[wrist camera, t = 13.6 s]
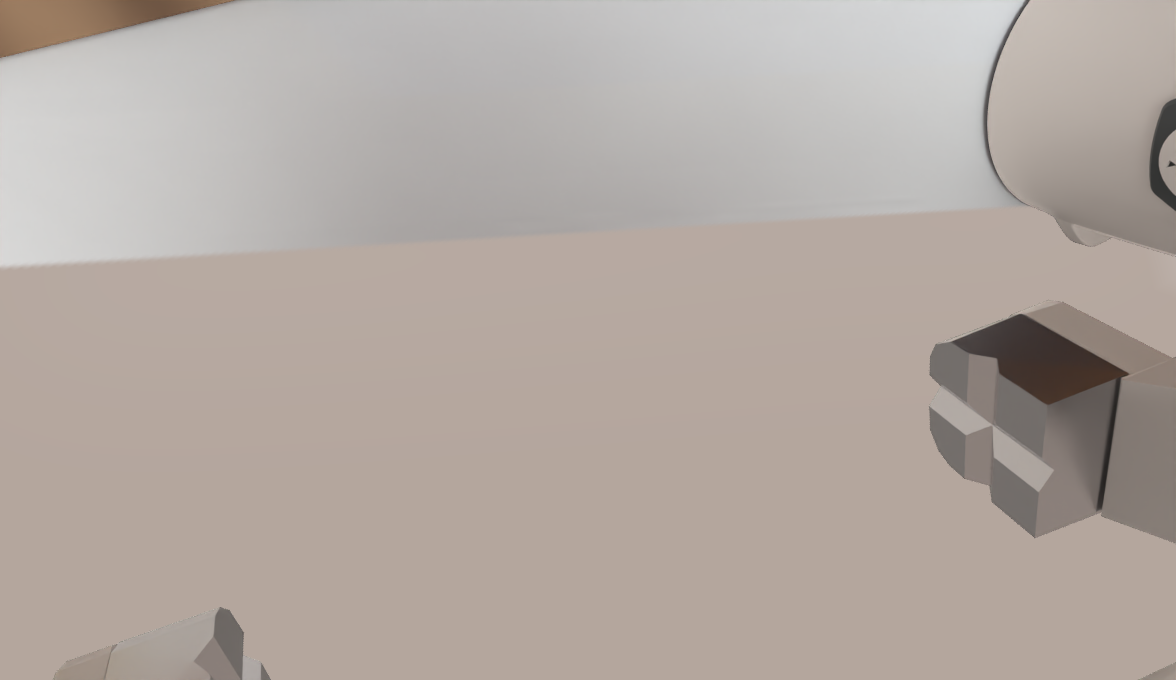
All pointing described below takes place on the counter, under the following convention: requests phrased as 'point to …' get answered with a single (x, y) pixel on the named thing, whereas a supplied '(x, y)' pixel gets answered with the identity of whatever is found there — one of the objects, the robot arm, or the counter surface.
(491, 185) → the counter surface
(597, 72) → the counter surface
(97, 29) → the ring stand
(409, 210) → the counter surface
